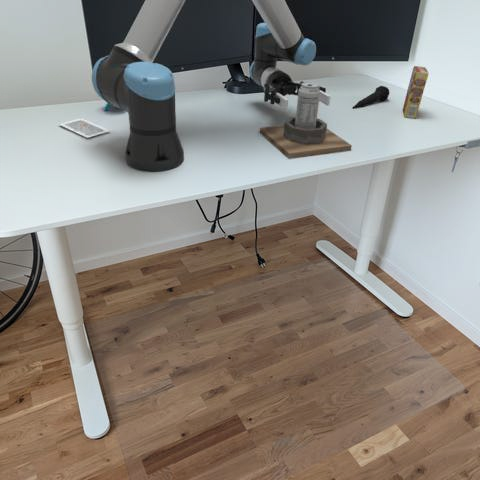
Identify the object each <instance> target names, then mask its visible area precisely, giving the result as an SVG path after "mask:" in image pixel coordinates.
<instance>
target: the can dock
mask: <svg viewBox="0 0 480 480" xmlns="http://www.w3.org/2000/svg"><path fill="white" fill-rule="evenodd" d="M295 119H296V116H290V117H288V118H287V119H286V120H285V121H284V124H282V125H273V126H263V127H262V126H261V127H259V134H261V135H262V137H264V138H265V140H267V141H268V142H269V143H270V144H272V145H273V146H274V147H275V148H276V149H277V150H278V151H280V152H281V153H282V154H283V156H285V157H286V158H288V159H296V158H302V157H311V156H318V155H324V154H335V153H340V152H349V151H351V150H352V144H351V143H349V142H348V141H346V140H345V139H343V138H342V137H340V136H339V135H337V134H336V133H334V132H333V131H332V130H330V129H328V128H327V127H328V124H327V122H325V121H323V120H321V119H320V118H318V117H317V120H316V127H315V128H314V129H304V128H298V127H295Z"/></svg>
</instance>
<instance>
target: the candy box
mask: <svg viewBox="0 0 480 480" xmlns="http://www.w3.org/2000/svg"><path fill="white" fill-rule="evenodd" d="M428 78H429V72H428V69H427V67H425V66H421V65H420V66H419V65H418V66H417V65H416V66H415V65H413V68H412V72H411V76H410V79H409V83H408V88H407V91H406V95H405V99H404V103H403V107H402V112H403V117H404V118H407V119H408V118H410V119H417V116H418V112H419V108H420V105H421V101H422V97H423V94H424V91H425V87H426V84H427V81H428Z"/></svg>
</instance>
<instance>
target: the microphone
mask: <svg viewBox="0 0 480 480" xmlns="http://www.w3.org/2000/svg"><path fill="white" fill-rule="evenodd" d="M389 95H390V89H389V88H388V87H387V86H384V85H380V86H377V87H376V88H375V90H374V92H373V93H370V94H369V95H367V96H366V97H364V98H363V99H361V100H358V102H357V103H356V104H355V105H354V106H352V109H357V108H362V107H365V106H368V105H370V104H373V103H375V102H377V101H380V102H384V101H386V100H388V99H389Z"/></svg>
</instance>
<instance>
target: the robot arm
mask: <svg viewBox="0 0 480 480" xmlns="http://www.w3.org/2000/svg"><path fill="white" fill-rule="evenodd" d="M251 1H252V3H253V5H254V7H255V8H256V10H257V11H258V13H259V15H260V16H261V19H262V20H263V22H260V23H259V24H257V26H256V28H255V29H256V32H255V37H254V39H255V40H254V59H253V62H251V65H250V67H249V70H248V72H249V73H248V74H249V76H250V79H252V81H254V83H255V84H256V85H259V86H260V87H262V88H263V93H264V96H263V97H264V98H263V102H264V103H265V102H267V103H268V102H269V101H270V105H275V104H277V105H278V106H279V107H280V108H282V109H283V110H288V104H289V99H288V98H287V97H285V96H287V95H288V96H291V95H292V96H293V95H294V96H297V97H298V92H299V89H300V87H301V86H302V83H304V82H305V81H300V82H294V81H293V80H292V77H291V76H290V75H289V74H287V73H286V72H284V71H283V70H281V69H279V68H278V67H277V63H278V60H280V61H284V62H288V63H292V64H295V65H297V66H298V65H300V66H308V65H310V64H311V63H312V61H313V60H314V59H315V57H316V54H317V45H316V43H315V41H313V40H311V39H309V38H305V37H304V35H303V33H302V32H301V29H300V28H299V25H298V23H297V22H296V19H295V17H294V16H293V14H292V12H291V10H290V8H289V6H288V5H287V2H286V0H251ZM185 2H186V0H144V3H143V4H142V6H141V8H140V10H139V12H138V14H137V16H136V18H135V20H134V21H133V23H132V25H131V27H130V29H129V31H128V33H127V35H126V37H125V39H124V40H123V42H121V43H117V44H114V46H113V48H112V50H111V51H110V53H109V54H108V55H106V56H104V57H101V58H99V59H98V60H97V61H96V62H95V64H94V66H93V68H92V72H91V82H92V87H93V89H94V92H95V93H96V94H97V96H98V97H99V98H100V99H102V100H104V102H105V103H106V104H107V103H109V104H110V105H111V106H114V107H116V108H119V109H120V110H122V111H125V112H126V113H128V122H129V123H128V125H129V135H128V139H127V143H126V146H125V147H126V149H125V153H124V154H125V161H126V162H125V163H126V164H127V165H128V166H130V167H131V168H134V169H136V170H141V171H146V172H160V171H161V172H162V171H168V170H171V169H173V168H176V167H178V166H180V165H181V164H182V163H183V162H184V160H185V153H184V151H185V150H184V147H183V145H182V143H181V140H180V137H179V135H178V131H177V117H176V116H177V115H176V84H175V76H174V74H173V72H172V71H171V70H170V68H168V67H166V66H164V64H160V63H156V62H155V63H154V61H155V58H156V56H157V55H158V54H159V51H160V49H161V47H162V45H163V43H164V42H165V39H167V38H166V37H167V36H168V34H169V32H170V30H171V28H172V27H173V24H174V22H175V20H176V19H177V17H178V15H179V13H180V11H181V9H182V8H183V6H184V4H185ZM319 89H320V98H319V103H322V104H324V106H326V107H327V106H330V104H331V103H330V102H331V95H330V94H328V93H326V91H327V88H326V87H323V86H319Z"/></svg>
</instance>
